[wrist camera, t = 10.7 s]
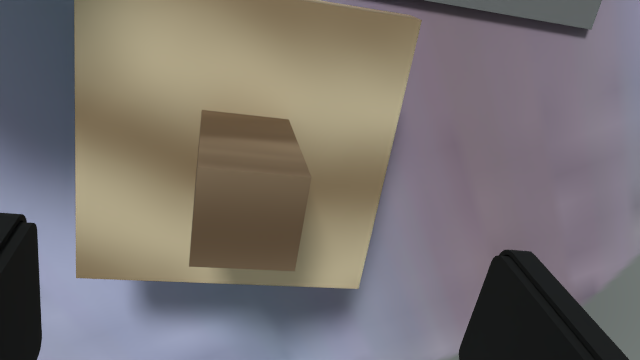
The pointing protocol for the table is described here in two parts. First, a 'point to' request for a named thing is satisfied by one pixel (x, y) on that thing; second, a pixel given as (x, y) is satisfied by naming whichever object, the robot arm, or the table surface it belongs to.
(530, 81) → the table surface
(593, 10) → the mat
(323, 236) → the lid
